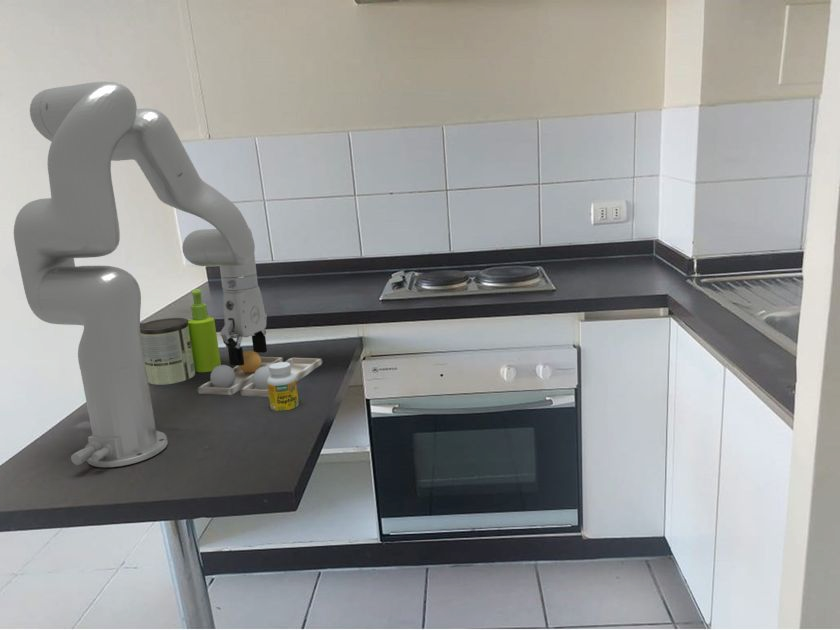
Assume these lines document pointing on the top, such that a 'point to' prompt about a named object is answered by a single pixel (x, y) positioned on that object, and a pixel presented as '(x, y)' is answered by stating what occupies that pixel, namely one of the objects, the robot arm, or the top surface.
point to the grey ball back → (222, 376)
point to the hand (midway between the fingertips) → (249, 358)
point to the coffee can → (167, 351)
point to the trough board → (242, 379)
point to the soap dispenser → (203, 336)
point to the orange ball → (250, 362)
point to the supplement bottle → (282, 387)
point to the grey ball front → (261, 377)
